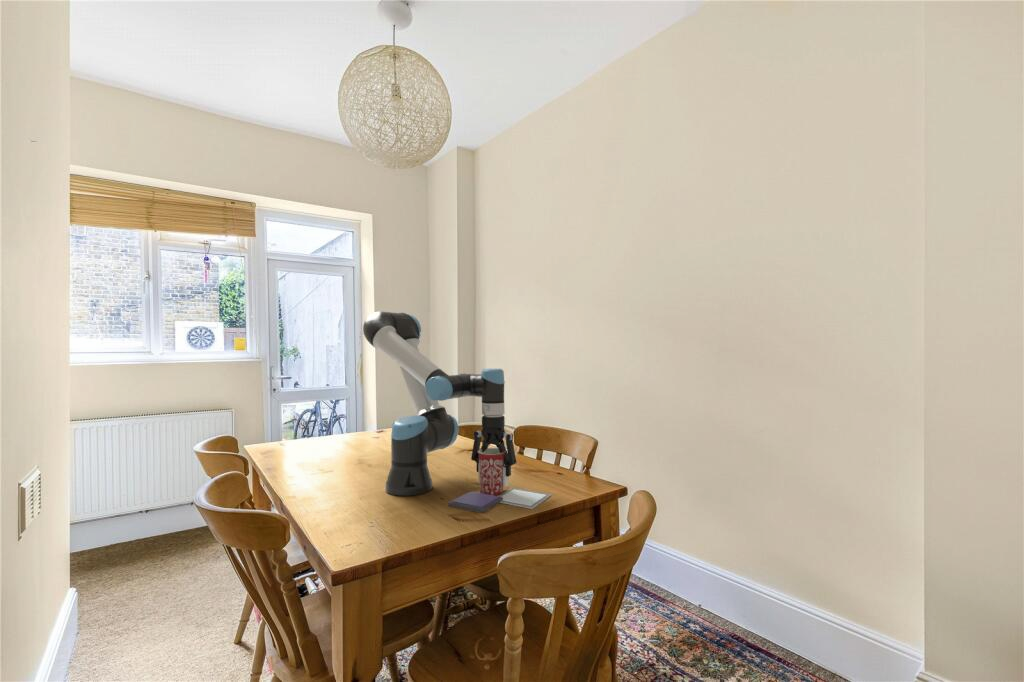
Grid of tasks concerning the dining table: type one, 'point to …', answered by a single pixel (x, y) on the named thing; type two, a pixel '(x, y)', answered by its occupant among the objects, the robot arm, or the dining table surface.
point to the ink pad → (475, 501)
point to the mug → (491, 471)
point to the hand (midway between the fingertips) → (493, 484)
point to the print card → (523, 498)
